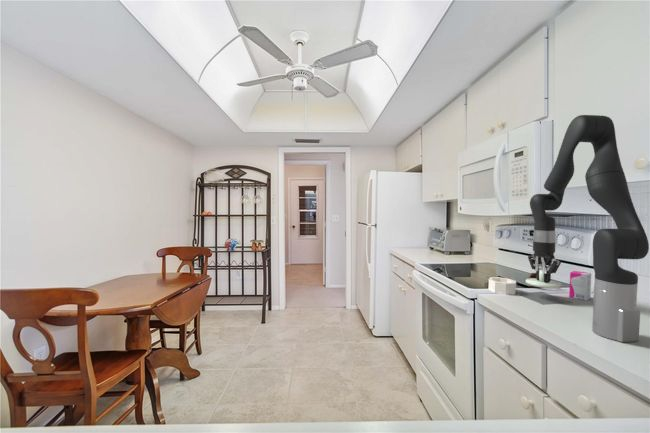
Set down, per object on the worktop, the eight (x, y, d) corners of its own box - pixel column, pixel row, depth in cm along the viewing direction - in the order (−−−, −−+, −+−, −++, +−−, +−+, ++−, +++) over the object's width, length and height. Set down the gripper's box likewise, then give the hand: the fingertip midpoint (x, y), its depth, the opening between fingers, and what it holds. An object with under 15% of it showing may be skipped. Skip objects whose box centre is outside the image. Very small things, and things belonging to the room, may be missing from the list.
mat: (573, 303, 114) (573, 302, 114) (542, 305, 112) (542, 304, 112) (542, 292, 128) (542, 291, 128) (514, 294, 126) (514, 293, 126)
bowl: (521, 295, 125) (522, 283, 125) (500, 296, 124) (500, 284, 123) (503, 287, 136) (503, 276, 135) (483, 288, 134) (483, 277, 134)
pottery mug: (558, 291, 131) (554, 277, 129) (538, 299, 133) (533, 285, 131) (541, 278, 143) (536, 265, 141) (522, 285, 145) (517, 273, 143)
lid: (569, 288, 114) (569, 272, 114) (543, 289, 113) (544, 273, 112) (542, 280, 126) (542, 266, 126) (518, 281, 124) (519, 267, 124)
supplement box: (590, 299, 120) (591, 272, 119) (586, 302, 116) (587, 274, 116) (573, 295, 124) (574, 270, 124) (568, 298, 121) (569, 272, 120)
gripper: (568, 242, 113) (567, 285, 113) (537, 239, 126) (536, 277, 127) (552, 243, 111) (550, 286, 112) (522, 239, 125) (521, 277, 126)
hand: (543, 281), depth 119 cm, fingers closed on lid, 2 cm apart
